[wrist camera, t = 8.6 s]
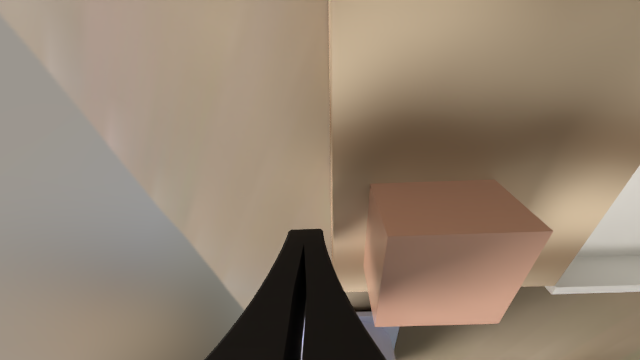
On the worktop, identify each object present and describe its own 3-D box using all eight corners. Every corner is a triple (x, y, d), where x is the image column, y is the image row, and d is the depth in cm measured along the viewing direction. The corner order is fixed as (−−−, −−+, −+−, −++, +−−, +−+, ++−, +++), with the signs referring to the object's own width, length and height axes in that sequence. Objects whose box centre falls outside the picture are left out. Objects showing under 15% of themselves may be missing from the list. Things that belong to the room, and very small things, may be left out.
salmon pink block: (462, 264, 13) (498, 323, 10) (363, 266, 13) (374, 327, 10) (494, 179, 10) (553, 231, 8) (370, 183, 10) (387, 236, 8)
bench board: (524, 252, 16) (554, 285, 14) (331, 258, 16) (333, 292, 14) (732, -129, 8) (886, -185, 6) (326, -111, 8) (329, -159, 6)
